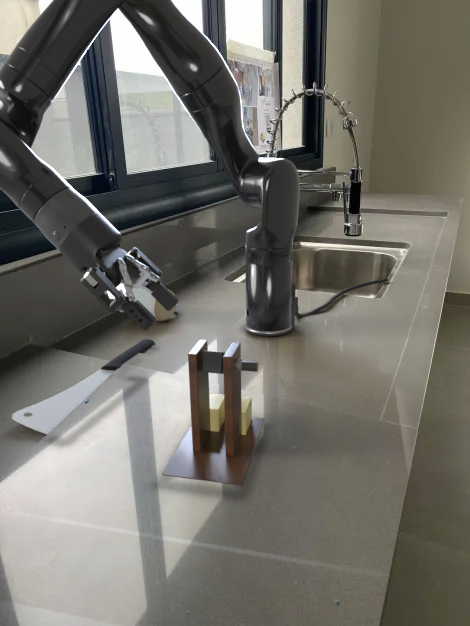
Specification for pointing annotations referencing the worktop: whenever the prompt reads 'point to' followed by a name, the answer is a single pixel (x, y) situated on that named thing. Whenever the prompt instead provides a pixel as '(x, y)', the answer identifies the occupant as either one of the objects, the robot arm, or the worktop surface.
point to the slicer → (200, 442)
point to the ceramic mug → (154, 304)
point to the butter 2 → (246, 413)
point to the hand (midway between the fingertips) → (163, 315)
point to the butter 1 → (216, 411)
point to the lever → (215, 363)
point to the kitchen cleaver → (73, 394)
